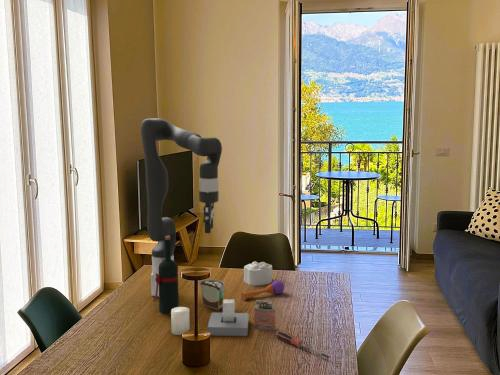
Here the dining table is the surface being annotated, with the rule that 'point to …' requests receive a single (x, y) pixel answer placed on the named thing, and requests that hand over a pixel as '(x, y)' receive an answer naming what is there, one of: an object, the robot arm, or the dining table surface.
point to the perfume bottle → (264, 315)
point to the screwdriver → (295, 341)
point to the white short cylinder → (180, 320)
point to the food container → (212, 293)
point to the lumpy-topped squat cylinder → (258, 273)
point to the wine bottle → (167, 282)
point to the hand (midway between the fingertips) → (209, 230)
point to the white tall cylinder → (228, 311)
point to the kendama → (265, 290)
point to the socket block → (228, 325)
